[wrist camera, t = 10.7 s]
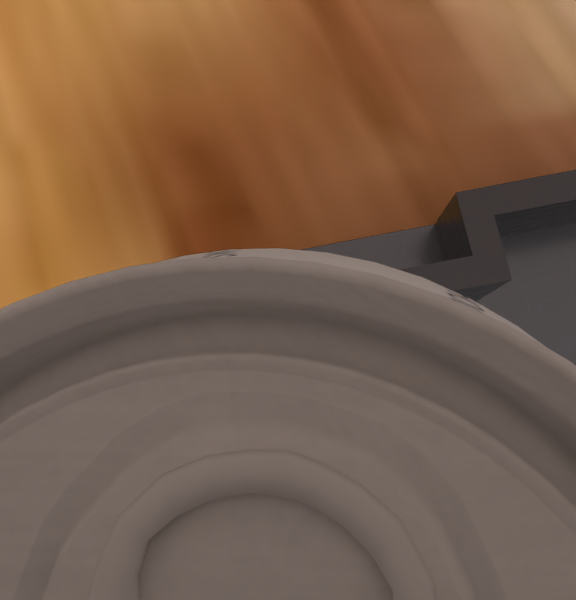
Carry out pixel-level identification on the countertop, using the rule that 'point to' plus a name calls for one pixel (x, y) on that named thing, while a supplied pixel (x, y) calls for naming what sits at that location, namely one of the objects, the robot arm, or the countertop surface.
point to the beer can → (280, 438)
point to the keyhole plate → (497, 254)
